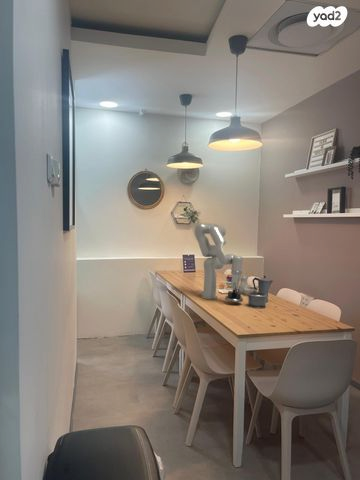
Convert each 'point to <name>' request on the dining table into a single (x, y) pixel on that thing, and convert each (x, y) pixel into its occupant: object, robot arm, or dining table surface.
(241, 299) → the lid
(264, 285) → the moka pot
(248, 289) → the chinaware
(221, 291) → the dining table surface
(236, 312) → the dining table surface
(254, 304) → the pot
